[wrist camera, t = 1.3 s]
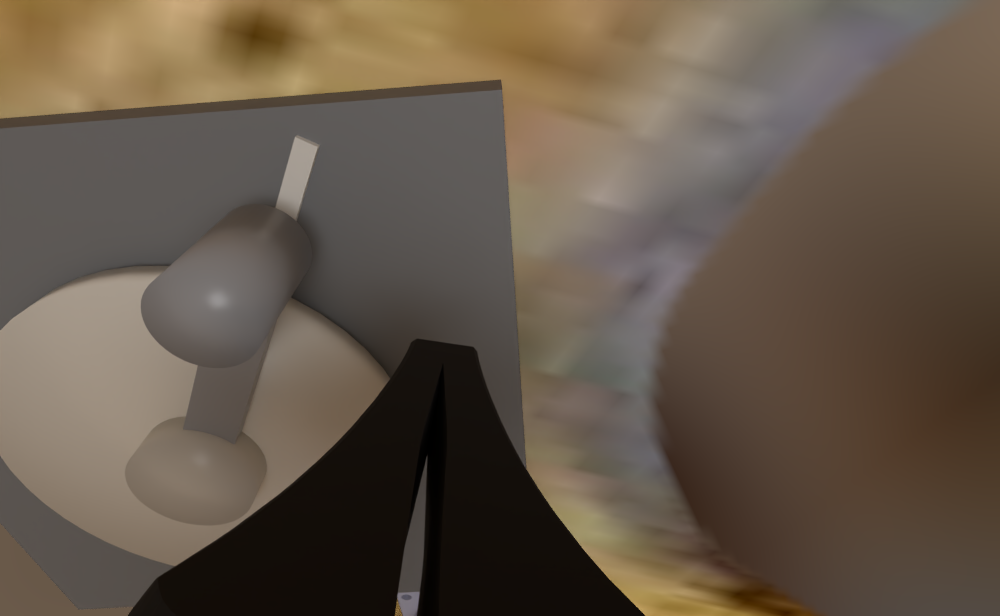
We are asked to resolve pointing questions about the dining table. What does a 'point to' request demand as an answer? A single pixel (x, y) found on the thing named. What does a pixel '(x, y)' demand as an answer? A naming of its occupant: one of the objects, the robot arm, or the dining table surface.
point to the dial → (179, 389)
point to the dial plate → (308, 200)
